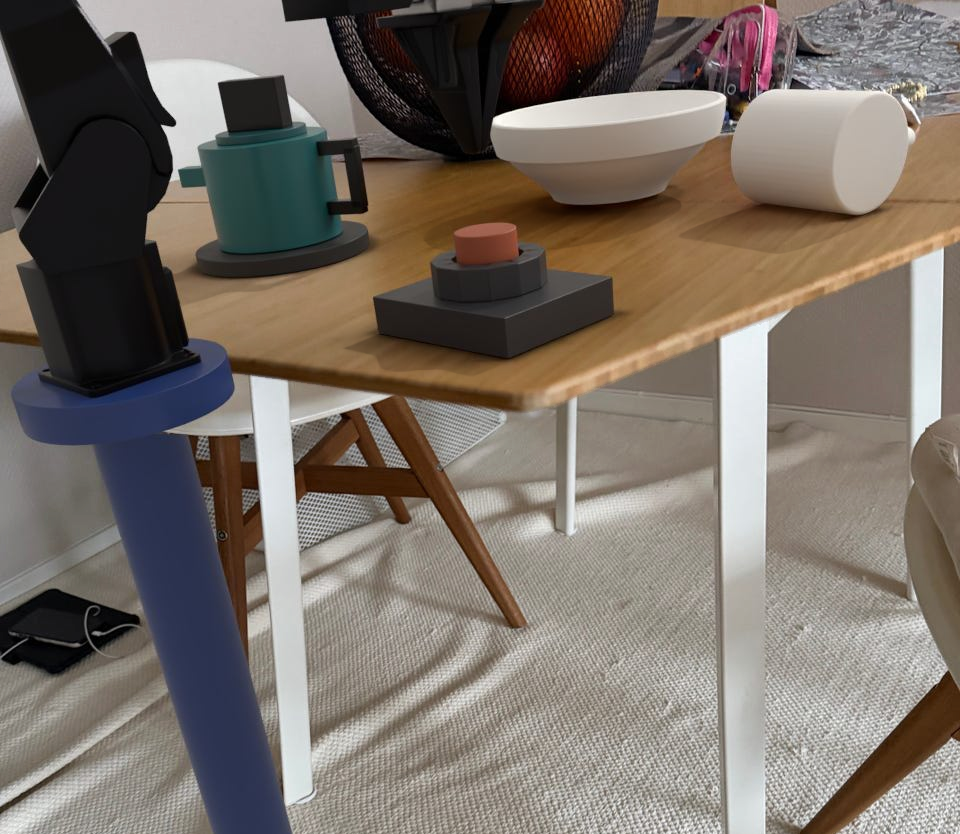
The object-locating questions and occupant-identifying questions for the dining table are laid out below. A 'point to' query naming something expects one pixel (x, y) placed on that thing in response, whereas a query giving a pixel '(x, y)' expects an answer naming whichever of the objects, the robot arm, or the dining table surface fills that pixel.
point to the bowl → (608, 142)
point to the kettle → (273, 173)
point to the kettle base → (283, 255)
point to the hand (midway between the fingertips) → (475, 152)
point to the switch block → (494, 304)
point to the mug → (821, 149)
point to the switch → (486, 243)
